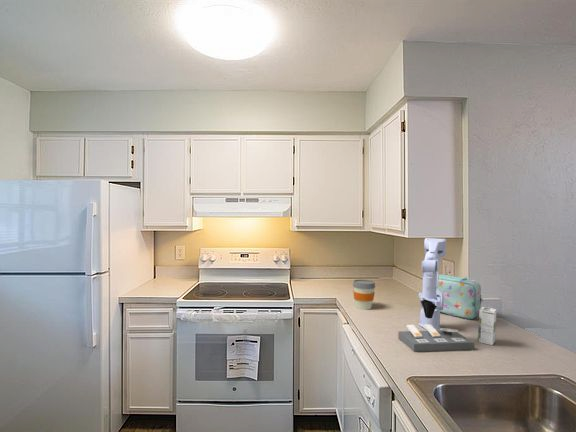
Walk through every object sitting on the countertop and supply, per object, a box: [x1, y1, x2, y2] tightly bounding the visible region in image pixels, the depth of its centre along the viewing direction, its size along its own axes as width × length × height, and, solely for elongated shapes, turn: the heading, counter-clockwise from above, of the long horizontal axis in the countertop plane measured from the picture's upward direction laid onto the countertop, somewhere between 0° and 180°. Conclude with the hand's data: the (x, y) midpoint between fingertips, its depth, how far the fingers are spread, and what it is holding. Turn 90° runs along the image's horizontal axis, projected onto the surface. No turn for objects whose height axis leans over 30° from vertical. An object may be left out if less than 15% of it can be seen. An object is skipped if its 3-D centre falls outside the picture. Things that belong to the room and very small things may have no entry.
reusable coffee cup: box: [352, 279, 376, 311], centre depth 194 cm, size 13×13×15 cm
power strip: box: [397, 330, 475, 353], centre depth 142 cm, size 14×26×4 cm, turn 97°
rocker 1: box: [406, 324, 423, 338], centre depth 144 cm, size 8×3×1 cm, turn 7°
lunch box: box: [438, 274, 484, 320], centre depth 184 cm, size 27×10×21 cm, turn 43°
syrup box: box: [477, 306, 498, 346], centre depth 145 cm, size 6×6×14 cm
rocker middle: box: [424, 324, 441, 337], centre depth 145 cm, size 8×3×1 cm, turn 7°
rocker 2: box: [440, 327, 459, 333], centre depth 146 cm, size 8×3×1 cm, turn 7°
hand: (428, 317), depth 147 cm, fingers closed
